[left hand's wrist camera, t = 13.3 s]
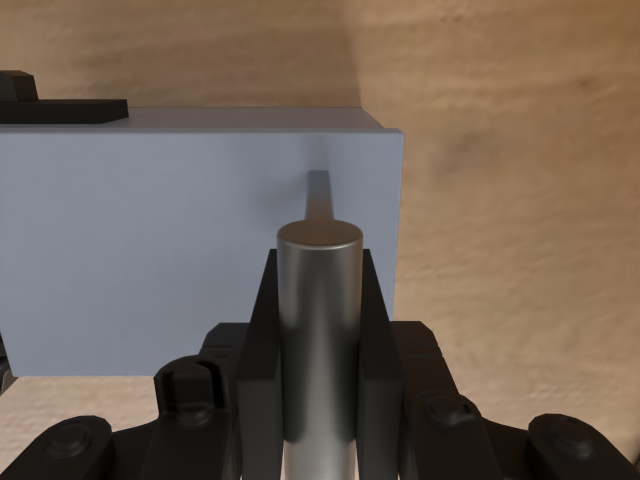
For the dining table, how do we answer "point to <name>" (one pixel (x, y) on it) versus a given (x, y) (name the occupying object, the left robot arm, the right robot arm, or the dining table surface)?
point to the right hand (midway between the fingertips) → (132, 231)
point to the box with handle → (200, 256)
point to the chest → (231, 118)
